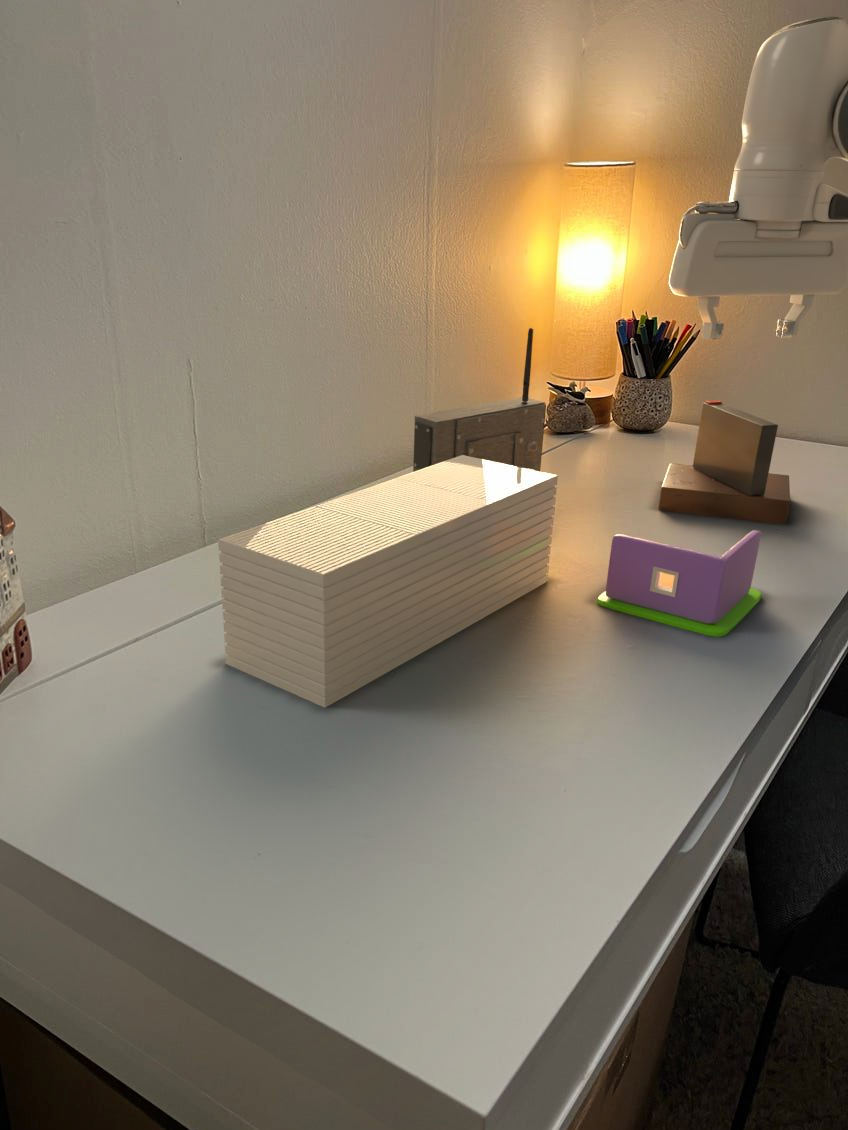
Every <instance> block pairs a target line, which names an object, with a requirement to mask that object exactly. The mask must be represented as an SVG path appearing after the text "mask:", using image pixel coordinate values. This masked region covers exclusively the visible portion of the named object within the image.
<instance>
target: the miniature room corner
mask: <svg viewBox="0 0 848 1130" xmlns="http://www.w3.org/2000/svg"><path fill="white" fill-rule="evenodd" d="M761 537H762V531H760V530H756V529H753V530H752V531H750V532H749V533H747V534H746V535H745V536H744V537H742V539H740V540H739V541H738V542H737V543H735V544H734V545H733V546H732V547H730V548H729V549H728V550H727V551H726V552H725V553H724V554H723V555H722V556H718V555H715V554H710V553H707V552H701V551H698V550H694V549H689V548H686V547H685V548H684V547H679V546H675V545H671V544H666V543H662V542H658V541H653V540H649V539H644V538H640V537H636V536H631V535H626V534H621V533H618V534H615V535H614V536H613V537H612V539H611V544H610V545H611V546H610V554H609V562H608V563H609V564H608V568H607V569H608V570H607V575H606V576H607V578H606V583H605V584H606V586H605V591H603V592H602V593H601V594H600V595H598V597H597V601H596V603H597V605H599V606H601V607H604V608H607V609H610V610H614V611H618V612H621V613H625V614H629V615H632V616H635V617H638V618H643V619H646V620H650V621H652V622H657V623H661V624H663V625H669V626H672V627H676V628H679V629H683V630H687V631H691V632H694V633H698V634H702V635H706V636H710V637H715V638H716V637H723V636H725V635H727V634H728V633H730V631H731V630H733V628H734V627H736V626H737V624H739V623H740V622H741V620H743V619H744V617H746V616H747V614H749V612H751V610H752V609H753V608H754V607H756V606H757V604H758V603H759V602H760V601H761V599H762V592H761V591H759V590H758V589H755V588H751V586H752V582H753V577H754V573H755V569H756V562H757V558H758V553H759V549H760V542H761Z"/></svg>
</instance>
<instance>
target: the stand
mask: <svg viewBox="0 0 848 1130" xmlns="http://www.w3.org/2000/svg"><path fill="white" fill-rule="evenodd" d="M790 488H791V485H790V475H788V474H780V473H770V472H769V473H768V479H767V484H766V489H765V494H764V495H752V496H749V495H747V494H745V493H743V492H741V491H739V490H737V489H735V488H733V487H731V486H729V485H727V484H725V483H723V482H721V481H719V480H717V479H715V478H713V477H711V476H709V475H707V474H705V473H703V472H701V471H699V470H697V469H695V468H693V464H681V463H674V462H673V463H672V462H670V463H669V466H668V468H667V471H666V473H665V477H664V479H663V482H662V485H661V488H660V495H659V500H658V501H659V502H658V507H657V509H658V510H659V511H666V512H676V513H684V514H692V515H703V516H710V517H717V518H718V517H719V518H726V519H734V520H742V521H752V522H759V523H760V522H761V523H770V524H778V525H786V523H787V519H788V514H789V511H790V504H791V489H790Z"/></svg>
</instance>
